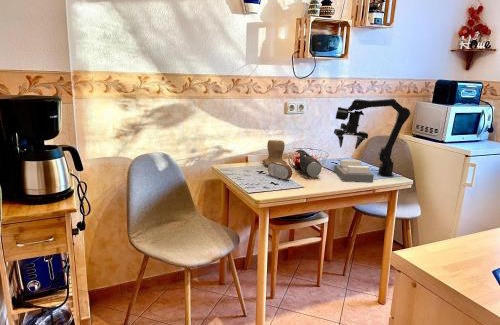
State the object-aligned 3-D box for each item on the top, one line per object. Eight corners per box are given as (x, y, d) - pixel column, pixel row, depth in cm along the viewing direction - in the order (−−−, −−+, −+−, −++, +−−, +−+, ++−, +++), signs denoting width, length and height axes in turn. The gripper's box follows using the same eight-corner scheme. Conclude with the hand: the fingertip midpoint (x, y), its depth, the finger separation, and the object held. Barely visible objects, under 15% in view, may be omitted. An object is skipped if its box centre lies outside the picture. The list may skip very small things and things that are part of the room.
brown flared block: (279, 161, 235) (281, 137, 232) (289, 165, 225) (290, 141, 221) (257, 162, 229) (259, 138, 225) (266, 167, 219) (268, 142, 215)
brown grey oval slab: (292, 180, 196) (293, 165, 194) (288, 181, 194) (289, 166, 192) (270, 174, 206) (270, 159, 204) (266, 175, 204) (267, 160, 202)
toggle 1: (359, 165, 215) (359, 160, 214) (360, 167, 212) (361, 161, 211) (340, 165, 214) (340, 159, 213) (341, 166, 211) (342, 161, 210)
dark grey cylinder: (306, 165, 228) (308, 149, 225) (321, 179, 201) (323, 161, 198) (291, 165, 226) (292, 148, 224) (304, 179, 200) (306, 160, 197)
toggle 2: (366, 171, 203) (367, 166, 202) (368, 173, 200) (369, 167, 199) (346, 171, 202) (347, 165, 201) (348, 172, 199) (348, 167, 198)
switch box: (360, 172, 218) (361, 165, 217) (372, 182, 200) (373, 174, 199) (333, 171, 217) (334, 164, 216) (343, 181, 199) (344, 173, 198)
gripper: (363, 120, 222) (358, 146, 226) (333, 117, 219) (328, 143, 223) (371, 124, 211) (365, 151, 215) (339, 120, 209) (334, 147, 213)
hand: (348, 148), depth 217 cm, fingers open, 9 cm apart
